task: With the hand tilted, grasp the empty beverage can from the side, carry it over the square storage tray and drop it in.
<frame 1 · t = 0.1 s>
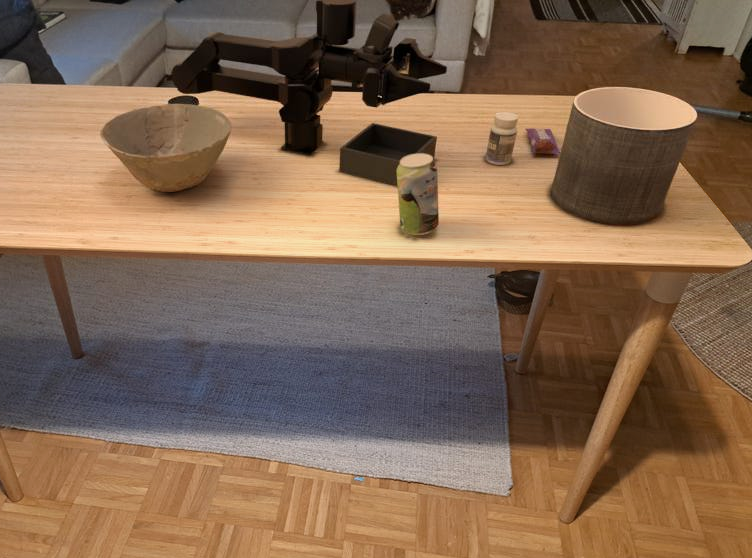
hand: (438, 78, 114), 17 cm above the table, tool horizontal, fingers open, 9 cm apart
square storage tray: (387, 165, 127), on the table
snack package: (540, 146, 132), on the table
beverage can: (414, 230, 109), on the table
ceramic bowl: (173, 182, 123), on the table
pill bottle: (497, 161, 128), on the table
planter: (604, 200, 115), on the table
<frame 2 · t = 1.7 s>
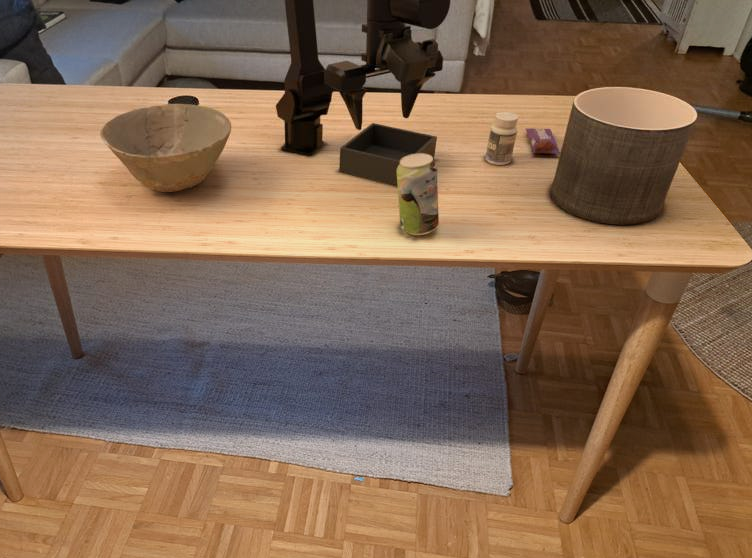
hand: (382, 123, 110), 13 cm above the table, tool pointing down, fingers open, 9 cm apart
nothing on the table moved.
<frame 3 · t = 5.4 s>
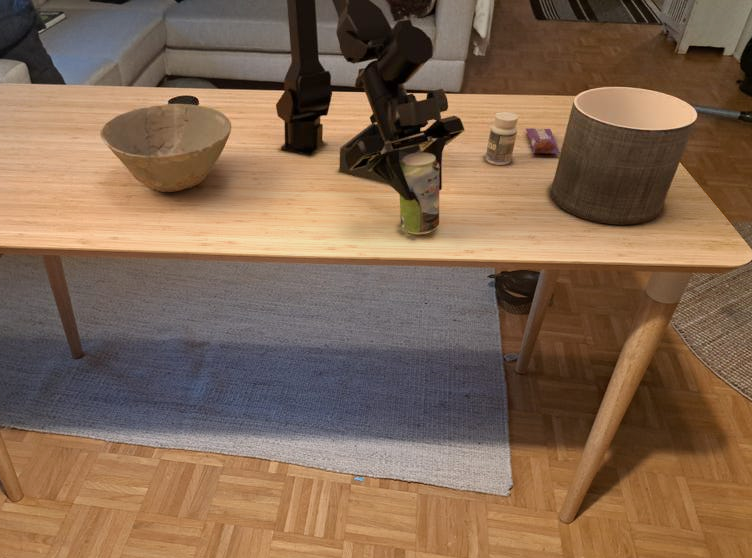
hand: (424, 195, 103), 7 cm above the table, tool tilted 45°, fingers closed on beverage can, 5 cm apart
beverage can: (414, 229, 109), on the table, touching gripper
everything else where it was.
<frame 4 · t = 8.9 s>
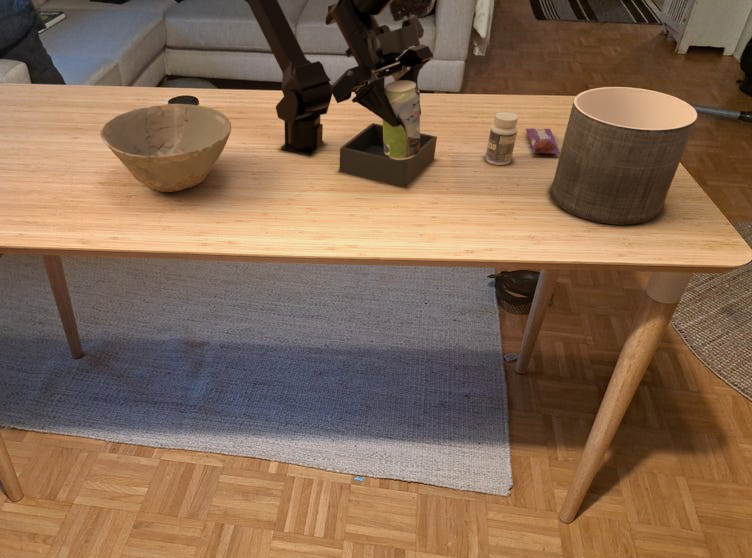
hand: (407, 120, 110), 13 cm above the table, tool tilted 45°, fingers closed on beverage can, 5 cm apart
beverage can: (396, 157, 115), point 6 cm above the table, touching gripper
everything else where it was.
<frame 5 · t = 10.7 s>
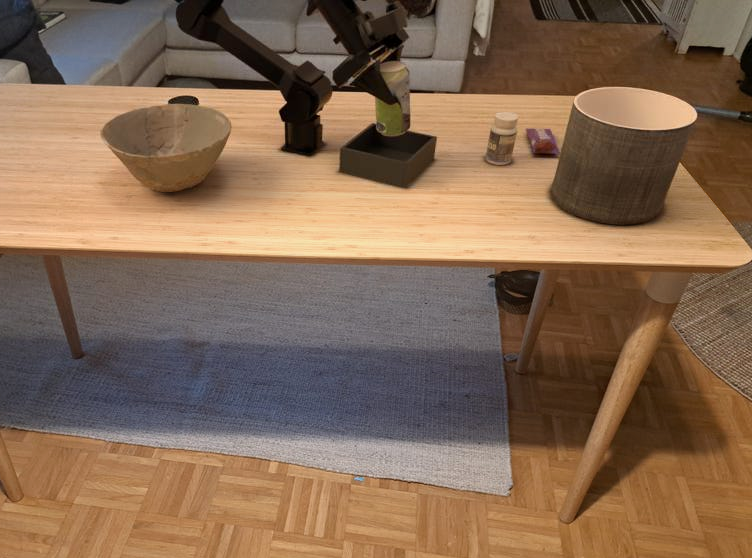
hand: (399, 98, 118), 13 cm above the table, tool tilted 45°, fingers closed on beverage can, 5 cm apart
beverage can: (388, 134, 123), point 6 cm above the table, touching gripper
everything else where it was.
when the fingers open (9 cm above the table, at t = 12.4 s): beverage can drops 2 cm, resting on square storage tray.
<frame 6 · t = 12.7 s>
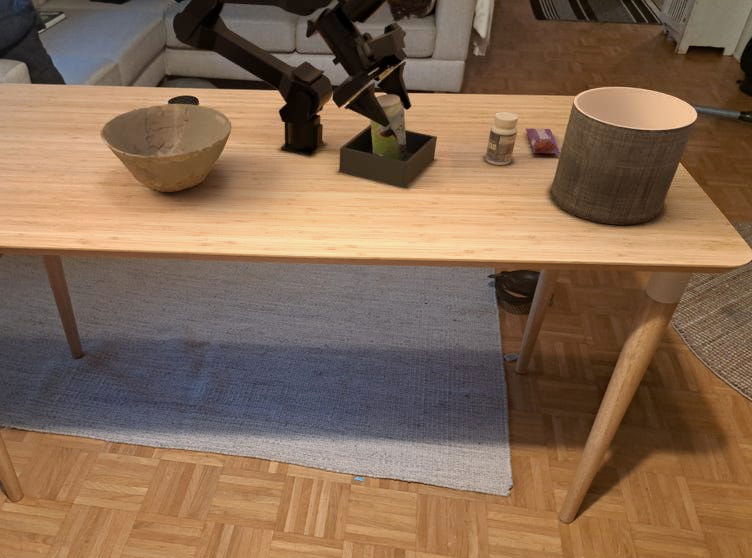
hand: (398, 116, 120), 10 cm above the table, tool tilted 45°, fingers open, 9 cm apart
beverage can: (385, 163, 126), resting on square storage tray
everything else where it was.
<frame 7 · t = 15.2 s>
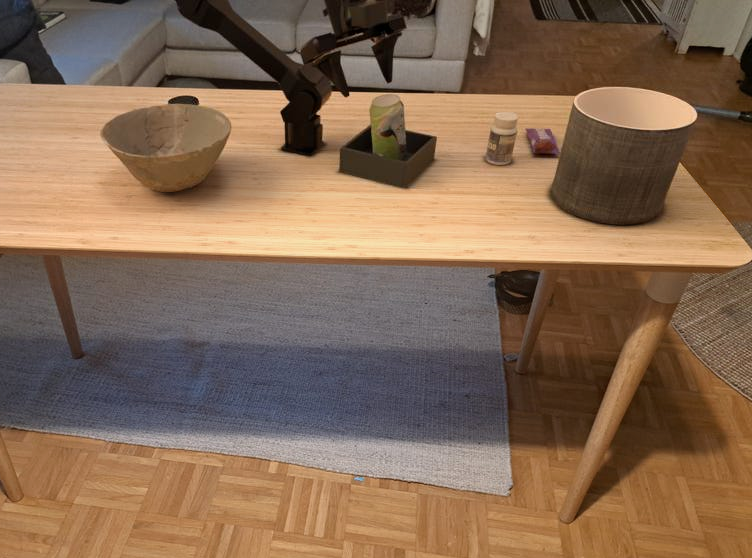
hand: (368, 89, 117), 14 cm above the table, tool tilted 30°, fingers open, 9 cm apart
nothing on the table moved.
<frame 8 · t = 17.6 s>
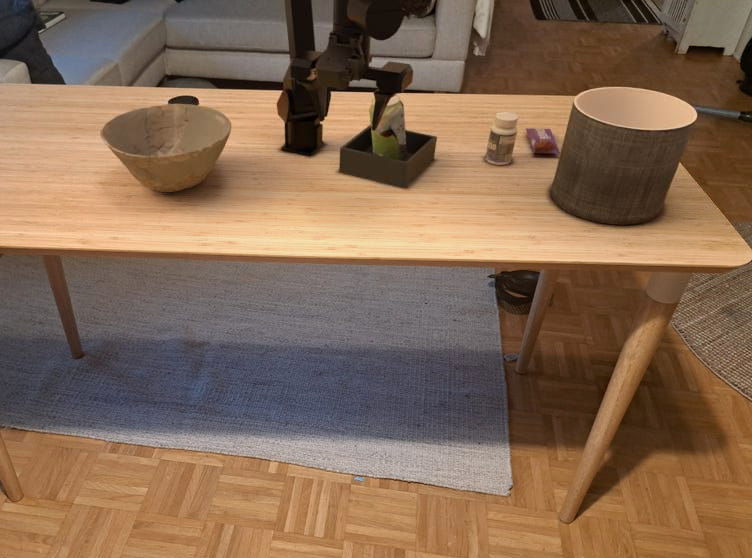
hand: (347, 125, 111), 12 cm above the table, tool pointing down, fingers open, 9 cm apart
nothing on the table moved.
at the end: beverage can inside the target area in the square storage tray (0.3 cm from its centre), point 0.4 cm above the square storage tray's base; the gripper is holding nothing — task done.
